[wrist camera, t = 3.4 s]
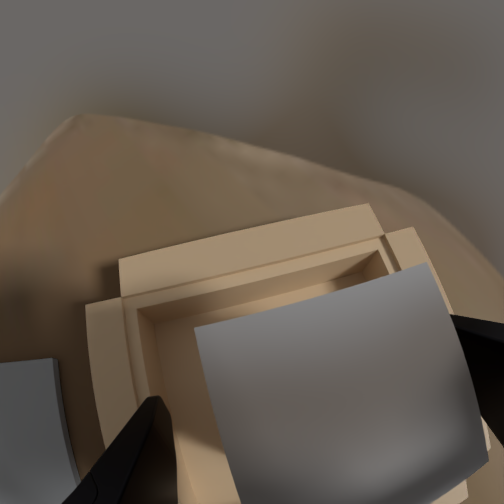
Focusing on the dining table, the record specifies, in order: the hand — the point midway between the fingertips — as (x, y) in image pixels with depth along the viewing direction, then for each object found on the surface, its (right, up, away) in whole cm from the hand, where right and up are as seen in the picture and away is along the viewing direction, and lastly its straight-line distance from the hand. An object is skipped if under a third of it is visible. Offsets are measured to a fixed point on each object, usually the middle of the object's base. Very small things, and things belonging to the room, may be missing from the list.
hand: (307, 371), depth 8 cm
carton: (0, -4, +5) cm, 7 cm away
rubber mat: (-18, -11, +2) cm, 21 cm away
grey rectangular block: (0, -4, +5) cm, 6 cm away
